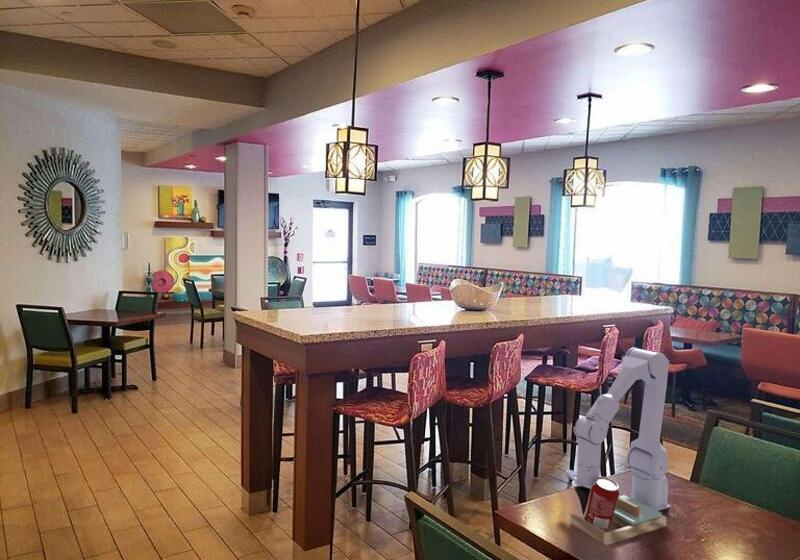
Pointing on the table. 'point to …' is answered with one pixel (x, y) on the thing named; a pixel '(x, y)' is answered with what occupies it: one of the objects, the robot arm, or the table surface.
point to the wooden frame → (620, 533)
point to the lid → (634, 511)
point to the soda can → (602, 502)
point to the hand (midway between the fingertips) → (586, 514)
